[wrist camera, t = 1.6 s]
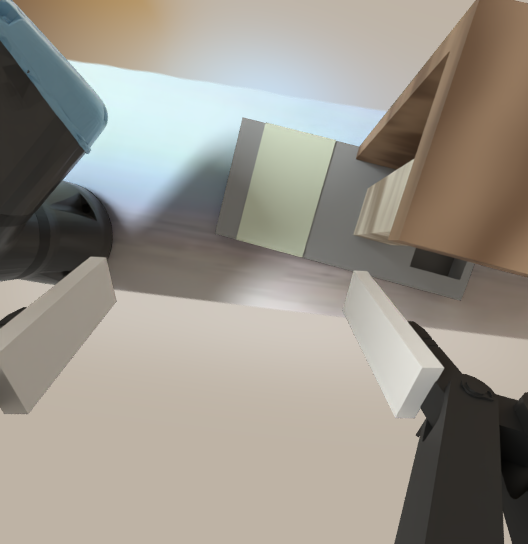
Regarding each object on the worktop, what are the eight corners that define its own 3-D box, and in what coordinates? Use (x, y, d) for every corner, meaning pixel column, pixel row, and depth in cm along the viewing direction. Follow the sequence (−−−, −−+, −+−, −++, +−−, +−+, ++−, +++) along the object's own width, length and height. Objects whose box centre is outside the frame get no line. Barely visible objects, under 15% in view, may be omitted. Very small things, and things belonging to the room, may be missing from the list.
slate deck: (220, 234, 38) (214, 233, 34) (246, 127, 36) (242, 116, 33) (446, 296, 36) (461, 301, 33) (486, 188, 34) (506, 183, 31)
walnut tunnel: (330, 241, 34) (398, 240, 14) (359, 146, 32) (481, -7, 12) (407, 261, 33) (589, 290, 13) (439, 166, 32) (699, 41, 12)
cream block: (353, 235, 33) (403, 229, 19) (367, 188, 33) (430, 148, 19) (391, 245, 33) (469, 247, 19) (407, 198, 32) (499, 165, 19)
